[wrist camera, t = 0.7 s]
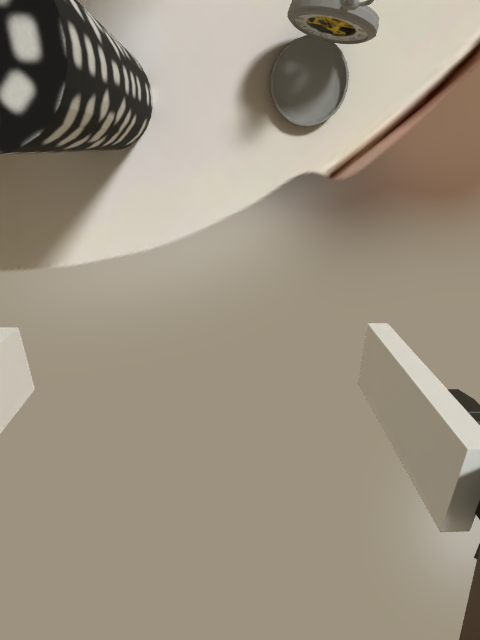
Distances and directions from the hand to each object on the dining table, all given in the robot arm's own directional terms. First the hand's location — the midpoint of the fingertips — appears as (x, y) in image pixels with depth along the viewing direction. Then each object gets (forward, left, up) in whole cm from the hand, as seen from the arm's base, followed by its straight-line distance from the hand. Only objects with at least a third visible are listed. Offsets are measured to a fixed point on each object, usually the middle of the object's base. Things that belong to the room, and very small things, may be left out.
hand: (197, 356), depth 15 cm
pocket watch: (-14, +8, -26) cm, 31 cm away
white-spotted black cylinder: (-11, -10, -26) cm, 30 cm away
